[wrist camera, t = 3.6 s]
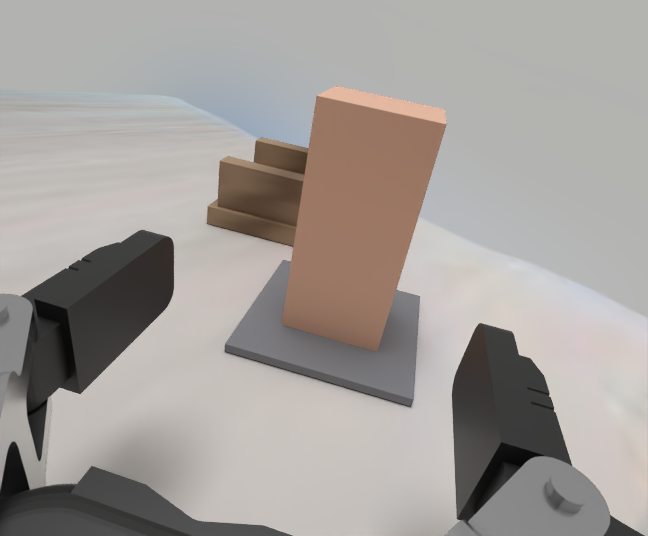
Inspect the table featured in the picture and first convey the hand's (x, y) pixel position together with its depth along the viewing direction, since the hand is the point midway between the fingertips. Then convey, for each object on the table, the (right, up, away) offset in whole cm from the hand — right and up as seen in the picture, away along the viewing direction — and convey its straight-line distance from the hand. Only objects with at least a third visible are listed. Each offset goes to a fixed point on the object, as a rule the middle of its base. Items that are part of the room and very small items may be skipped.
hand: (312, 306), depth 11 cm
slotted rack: (-2, +5, +20) cm, 21 cm away
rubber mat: (+1, -2, +10) cm, 10 cm away
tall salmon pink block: (+1, -1, +10) cm, 10 cm away
